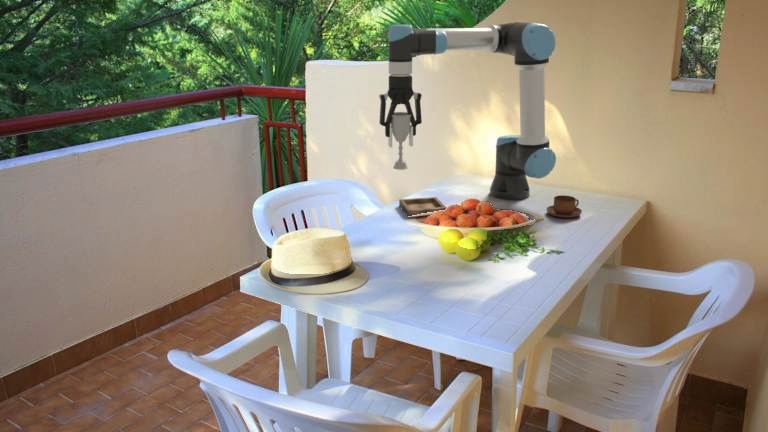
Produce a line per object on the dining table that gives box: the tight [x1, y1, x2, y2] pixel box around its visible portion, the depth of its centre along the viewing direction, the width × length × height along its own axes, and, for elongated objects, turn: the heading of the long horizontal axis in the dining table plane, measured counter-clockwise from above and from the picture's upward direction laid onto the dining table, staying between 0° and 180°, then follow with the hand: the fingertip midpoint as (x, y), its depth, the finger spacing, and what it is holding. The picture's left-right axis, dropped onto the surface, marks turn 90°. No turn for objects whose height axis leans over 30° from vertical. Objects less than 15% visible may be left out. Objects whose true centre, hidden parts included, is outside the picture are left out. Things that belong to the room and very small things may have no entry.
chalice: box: [390, 111, 412, 171], centre depth 227 cm, size 7×7×18 cm
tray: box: [398, 196, 448, 217], centre depth 248 cm, size 14×14×2 cm
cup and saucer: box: [546, 195, 583, 219], centre depth 242 cm, size 12×12×6 cm
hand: (400, 145), depth 227 cm, fingers closed on chalice, 6 cm apart
